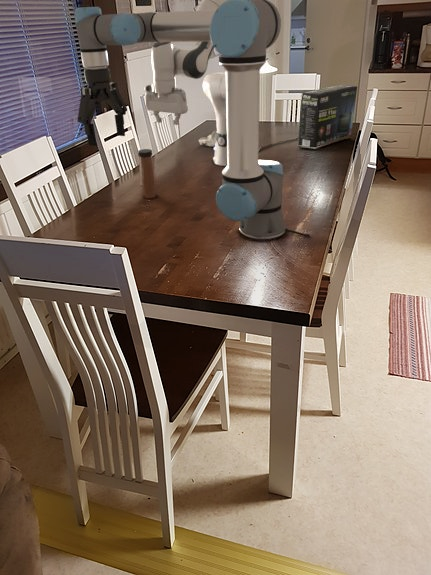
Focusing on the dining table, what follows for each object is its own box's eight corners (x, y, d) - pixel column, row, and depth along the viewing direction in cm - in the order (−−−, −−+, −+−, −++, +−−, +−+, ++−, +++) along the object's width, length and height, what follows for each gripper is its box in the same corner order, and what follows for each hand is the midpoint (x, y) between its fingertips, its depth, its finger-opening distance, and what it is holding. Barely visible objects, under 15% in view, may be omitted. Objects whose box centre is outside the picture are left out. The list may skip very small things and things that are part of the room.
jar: (142, 196, 184) (137, 151, 175) (152, 193, 186) (147, 149, 177) (147, 199, 180) (142, 154, 171) (157, 196, 183) (153, 152, 173)
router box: (314, 151, 231) (318, 94, 217) (296, 148, 237) (299, 92, 224) (352, 138, 251) (358, 85, 238) (335, 135, 258) (340, 83, 245)
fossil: (222, 142, 237) (203, 124, 241) (211, 159, 244) (193, 141, 247) (239, 140, 251) (221, 123, 254) (229, 157, 258) (211, 140, 261)
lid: (136, 155, 175) (135, 150, 174) (148, 152, 178) (148, 148, 177) (142, 158, 172) (141, 153, 171) (154, 155, 174) (154, 150, 173)
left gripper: (190, 87, 179) (191, 124, 186) (151, 85, 190) (155, 119, 197) (179, 89, 175) (181, 127, 182) (141, 86, 186) (144, 122, 193)
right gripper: (114, 63, 147) (123, 131, 158) (55, 72, 129) (70, 148, 140) (132, 63, 144) (140, 132, 155) (75, 72, 126) (88, 150, 137)
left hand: (167, 123), depth 190 cm, fingers open, 8 cm apart
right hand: (107, 140), depth 148 cm, fingers open, 13 cm apart
